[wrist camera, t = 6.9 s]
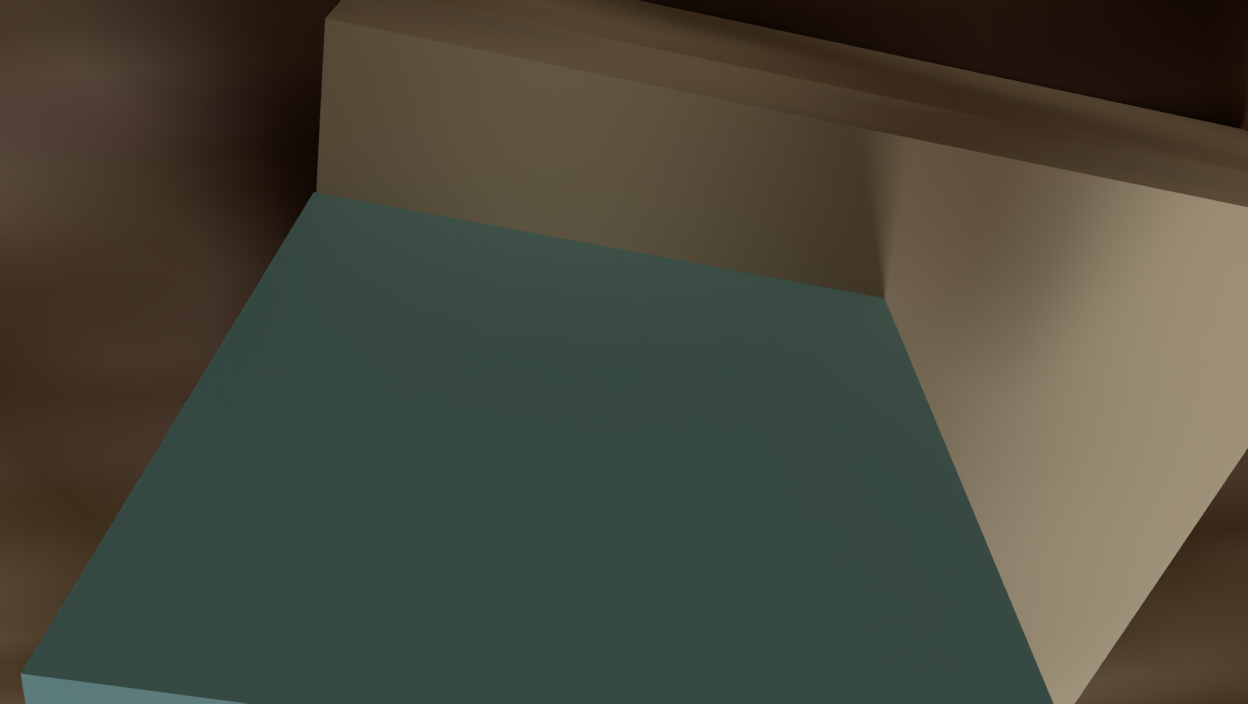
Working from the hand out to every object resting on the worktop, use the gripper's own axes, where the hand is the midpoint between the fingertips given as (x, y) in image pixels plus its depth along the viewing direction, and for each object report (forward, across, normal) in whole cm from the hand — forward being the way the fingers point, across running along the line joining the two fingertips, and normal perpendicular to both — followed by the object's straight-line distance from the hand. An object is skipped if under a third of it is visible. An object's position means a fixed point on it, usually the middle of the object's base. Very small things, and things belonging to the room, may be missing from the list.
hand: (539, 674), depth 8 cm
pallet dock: (+5, -2, +4) cm, 7 cm away
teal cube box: (+2, 0, 0) cm, 3 cm away
